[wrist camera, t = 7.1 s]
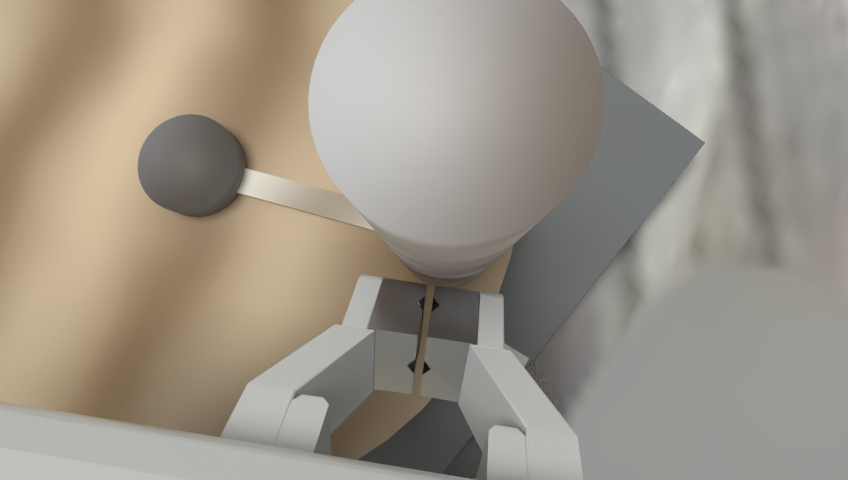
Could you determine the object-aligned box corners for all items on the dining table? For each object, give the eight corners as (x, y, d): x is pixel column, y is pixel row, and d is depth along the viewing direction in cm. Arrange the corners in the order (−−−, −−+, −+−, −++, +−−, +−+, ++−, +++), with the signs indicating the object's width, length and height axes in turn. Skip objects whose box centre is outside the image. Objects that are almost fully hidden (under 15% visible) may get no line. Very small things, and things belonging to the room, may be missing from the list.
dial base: (233, -177, 22) (215, -220, 20) (684, 155, 19) (709, 139, 17) (-168, 239, 20) (-228, 231, 18) (269, 677, 17) (248, 720, 15)
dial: (-138, 385, 17) (-1490, 562, 5) (71, -120, 19) (-512, -794, 8) (422, 567, 16) (357, 1411, 4) (572, -3, 18) (826, -610, 6)
